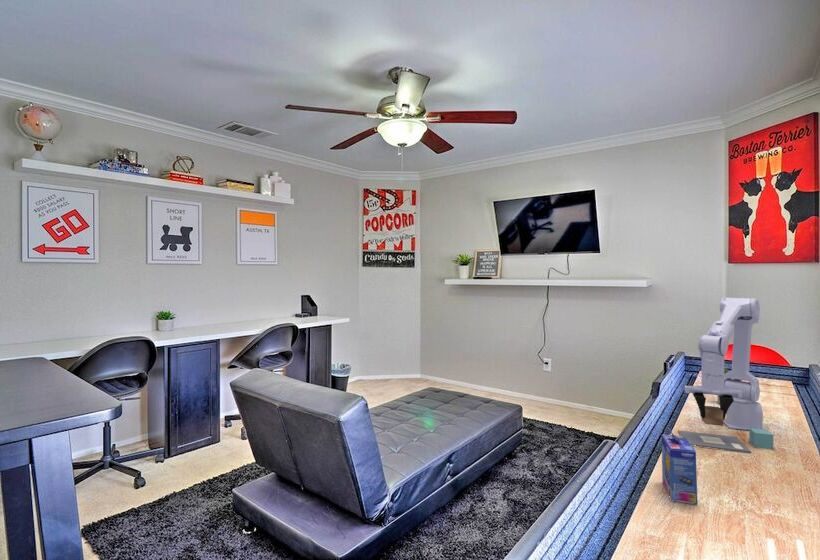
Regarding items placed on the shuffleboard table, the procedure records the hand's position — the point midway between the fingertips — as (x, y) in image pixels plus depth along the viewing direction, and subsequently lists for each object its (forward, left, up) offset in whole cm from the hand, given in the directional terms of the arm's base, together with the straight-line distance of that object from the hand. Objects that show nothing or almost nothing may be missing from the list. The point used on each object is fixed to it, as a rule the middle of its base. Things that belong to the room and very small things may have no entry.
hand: (712, 418), depth 133 cm
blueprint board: (0, 0, -7) cm, 7 cm away
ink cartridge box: (+17, +40, -8) cm, 44 cm away
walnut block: (0, 0, -2) cm, 2 cm away
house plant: (-16, -48, -8) cm, 51 cm away
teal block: (-13, -2, -8) cm, 15 cm away
